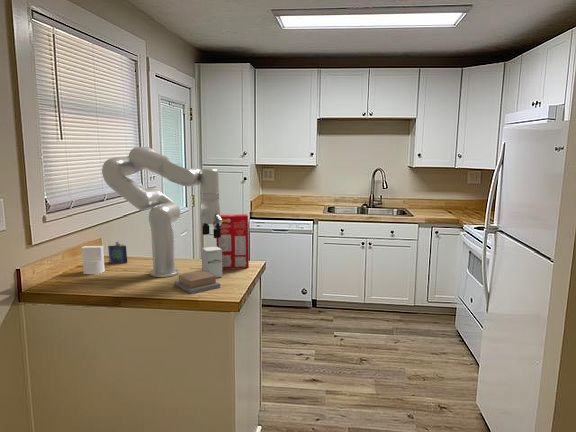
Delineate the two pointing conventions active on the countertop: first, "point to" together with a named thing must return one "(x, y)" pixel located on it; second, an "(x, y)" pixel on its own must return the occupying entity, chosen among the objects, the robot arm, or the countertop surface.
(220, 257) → the supplement box
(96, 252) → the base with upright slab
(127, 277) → the countertop surface
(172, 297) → the countertop surface
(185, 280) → the pedestal
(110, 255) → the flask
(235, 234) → the food packaging
